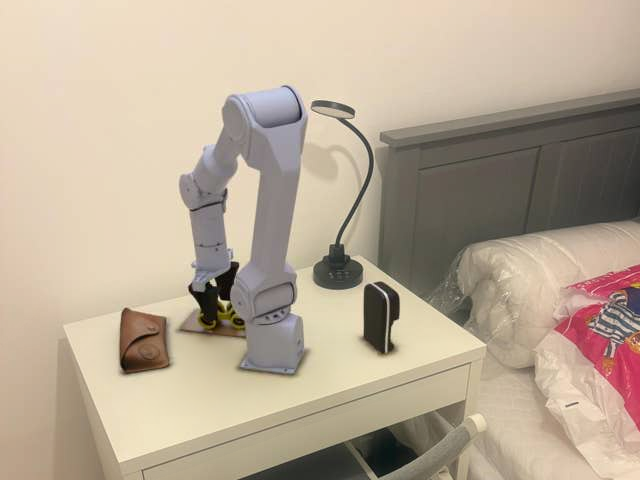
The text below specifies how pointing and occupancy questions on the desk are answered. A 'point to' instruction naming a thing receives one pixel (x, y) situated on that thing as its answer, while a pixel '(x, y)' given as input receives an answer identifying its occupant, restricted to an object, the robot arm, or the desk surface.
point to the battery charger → (380, 315)
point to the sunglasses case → (142, 341)
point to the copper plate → (220, 328)
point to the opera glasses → (222, 317)
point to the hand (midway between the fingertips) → (218, 309)
